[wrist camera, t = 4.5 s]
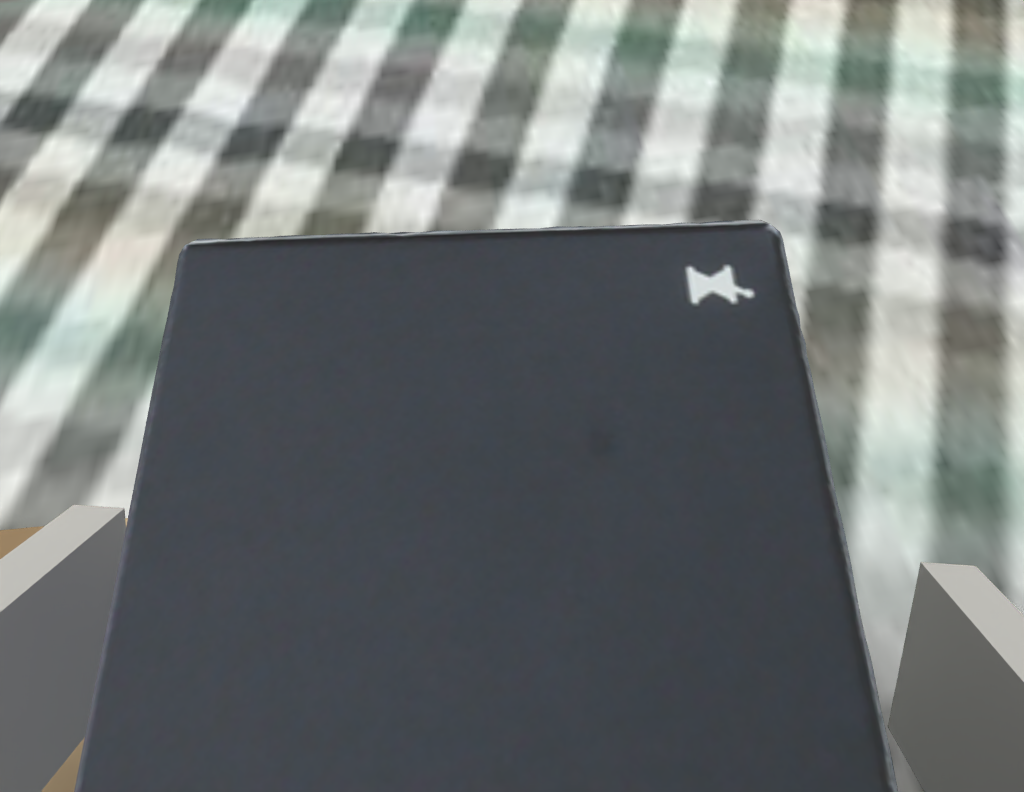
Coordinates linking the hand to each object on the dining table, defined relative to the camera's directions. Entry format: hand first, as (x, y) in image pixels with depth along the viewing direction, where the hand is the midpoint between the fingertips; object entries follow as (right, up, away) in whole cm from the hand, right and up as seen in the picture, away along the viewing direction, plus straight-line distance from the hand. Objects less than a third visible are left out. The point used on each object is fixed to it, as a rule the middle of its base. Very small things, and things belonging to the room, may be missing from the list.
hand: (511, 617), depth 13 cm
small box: (0, -5, +3) cm, 5 cm away
